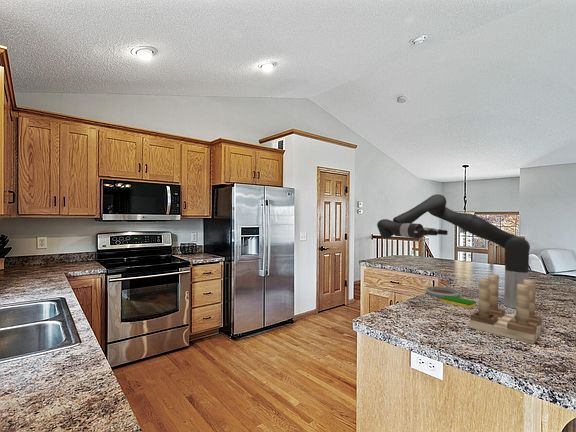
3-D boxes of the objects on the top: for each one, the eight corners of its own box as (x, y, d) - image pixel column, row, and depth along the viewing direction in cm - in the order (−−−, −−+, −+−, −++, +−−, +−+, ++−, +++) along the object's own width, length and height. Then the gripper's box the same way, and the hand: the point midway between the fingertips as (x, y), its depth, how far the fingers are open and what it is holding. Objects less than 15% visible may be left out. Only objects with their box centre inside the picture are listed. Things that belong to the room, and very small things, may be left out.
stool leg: (480, 317, 125) (482, 277, 125) (491, 320, 122) (492, 279, 122) (476, 319, 123) (477, 278, 123) (486, 322, 120) (487, 280, 120)
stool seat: (483, 316, 137) (485, 272, 136) (542, 329, 122) (544, 280, 122) (469, 327, 123) (470, 278, 122) (533, 343, 108) (535, 288, 108)
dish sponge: (446, 299, 163) (446, 295, 163) (475, 306, 152) (476, 301, 152) (440, 302, 158) (440, 297, 158) (469, 309, 148) (470, 304, 148)
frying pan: (464, 286, 184) (457, 295, 161) (464, 291, 184) (457, 301, 161) (432, 281, 193) (422, 289, 171) (432, 286, 193) (421, 295, 171)
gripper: (403, 223, 157) (433, 225, 144) (419, 223, 165) (450, 224, 152) (402, 238, 157) (433, 241, 144) (419, 237, 165) (450, 240, 152)
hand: (442, 232), depth 148 cm, fingers open, 8 cm apart
